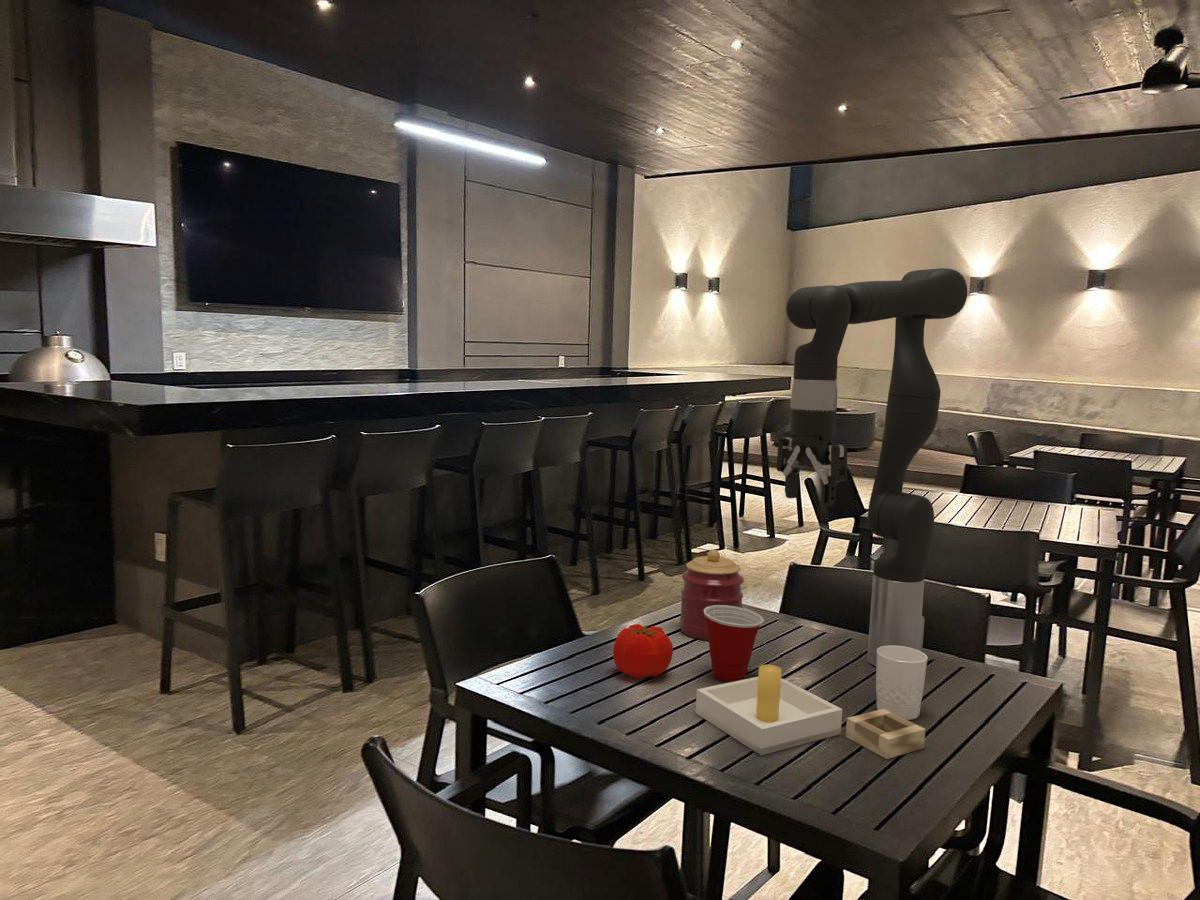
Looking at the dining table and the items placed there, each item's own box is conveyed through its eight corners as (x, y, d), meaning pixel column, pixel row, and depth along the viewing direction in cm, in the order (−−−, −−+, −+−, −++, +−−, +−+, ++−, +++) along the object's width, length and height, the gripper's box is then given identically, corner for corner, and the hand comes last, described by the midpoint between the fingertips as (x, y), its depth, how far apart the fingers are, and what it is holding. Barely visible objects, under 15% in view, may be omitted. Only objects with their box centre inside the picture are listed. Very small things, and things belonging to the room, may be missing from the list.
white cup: (899, 725, 132) (903, 665, 131) (862, 706, 139) (866, 649, 138) (933, 717, 136) (938, 658, 134) (896, 699, 143) (900, 642, 141)
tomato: (681, 682, 147) (683, 634, 146) (623, 688, 143) (625, 639, 142) (657, 661, 157) (659, 616, 156) (603, 666, 153) (604, 621, 152)
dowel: (768, 711, 133) (771, 663, 132) (783, 719, 130) (786, 670, 129) (751, 715, 132) (754, 666, 131) (765, 723, 129) (769, 674, 128)
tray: (771, 696, 142) (772, 673, 142) (840, 734, 128) (842, 709, 128) (695, 713, 134) (696, 689, 134) (760, 755, 120) (762, 729, 120)
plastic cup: (760, 691, 144) (764, 624, 142) (698, 684, 146) (701, 618, 145) (761, 669, 154) (764, 606, 153) (702, 663, 156) (705, 601, 155)
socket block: (882, 726, 131) (883, 708, 131) (924, 748, 124) (925, 728, 124) (845, 736, 127) (846, 718, 127) (886, 759, 120) (888, 739, 120)
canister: (725, 646, 166) (729, 560, 164) (668, 633, 173) (671, 550, 171) (750, 630, 177) (755, 549, 175) (696, 618, 184) (699, 540, 182)
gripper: (862, 409, 135) (856, 507, 137) (800, 403, 147) (796, 493, 149) (828, 410, 131) (823, 511, 133) (767, 404, 143) (764, 496, 145)
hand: (808, 501), depth 141 cm, fingers open, 8 cm apart
